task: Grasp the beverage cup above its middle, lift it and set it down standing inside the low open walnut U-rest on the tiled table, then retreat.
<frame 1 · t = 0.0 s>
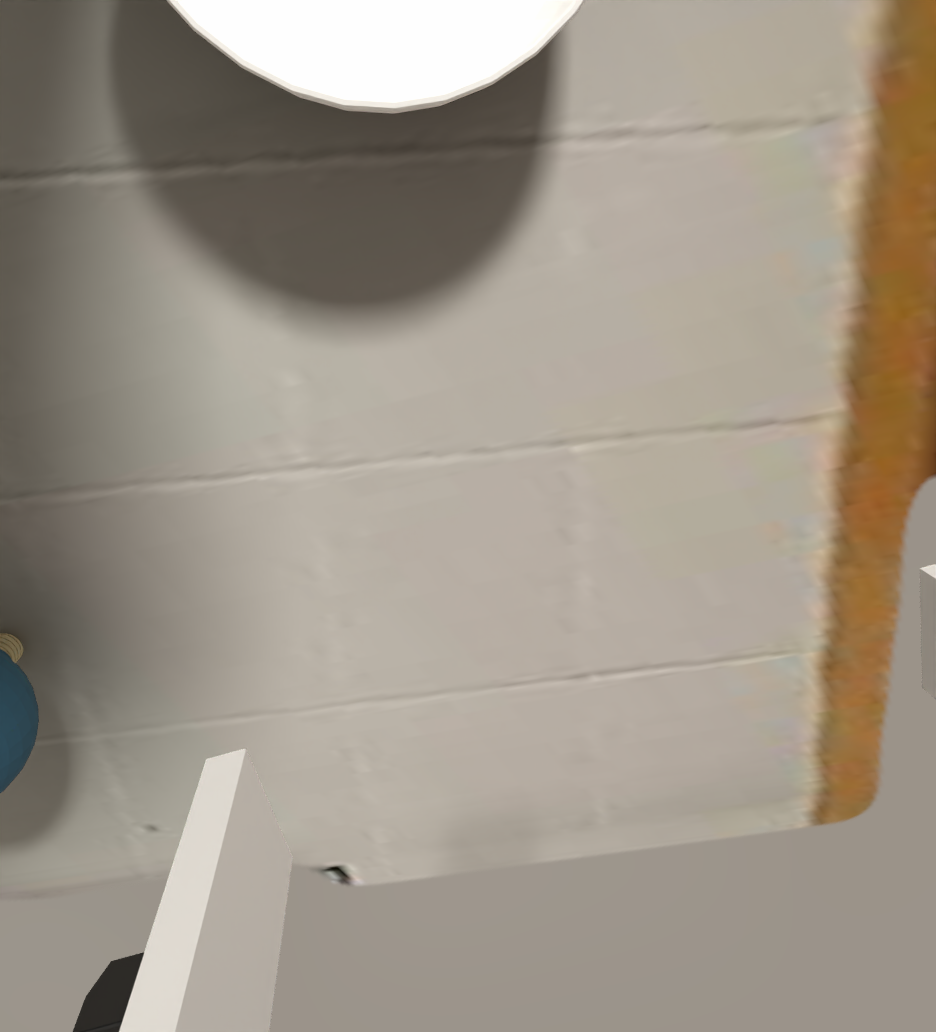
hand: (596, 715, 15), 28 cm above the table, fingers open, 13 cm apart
light bulb: (11, 641, 43), on the table
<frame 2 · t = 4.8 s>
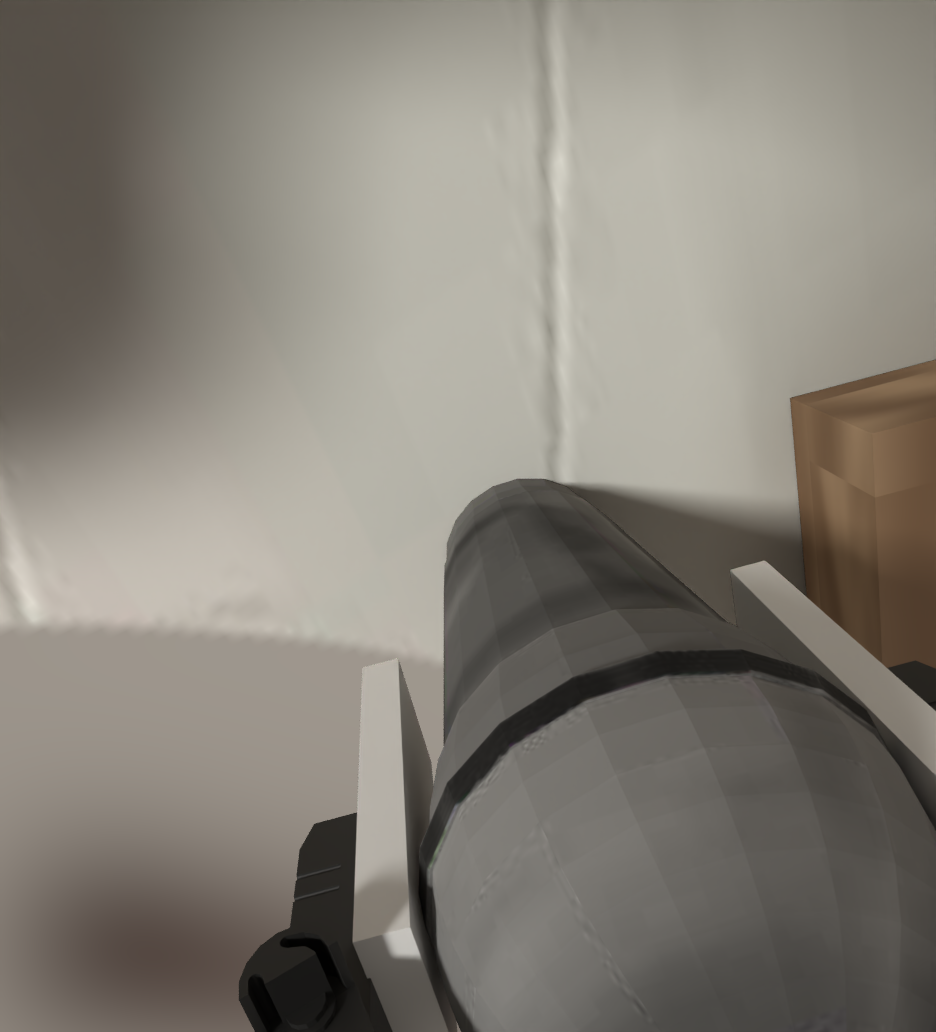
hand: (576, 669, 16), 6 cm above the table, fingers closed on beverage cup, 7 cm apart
beverage cup: (524, 551, 22), on the table, touching gripper
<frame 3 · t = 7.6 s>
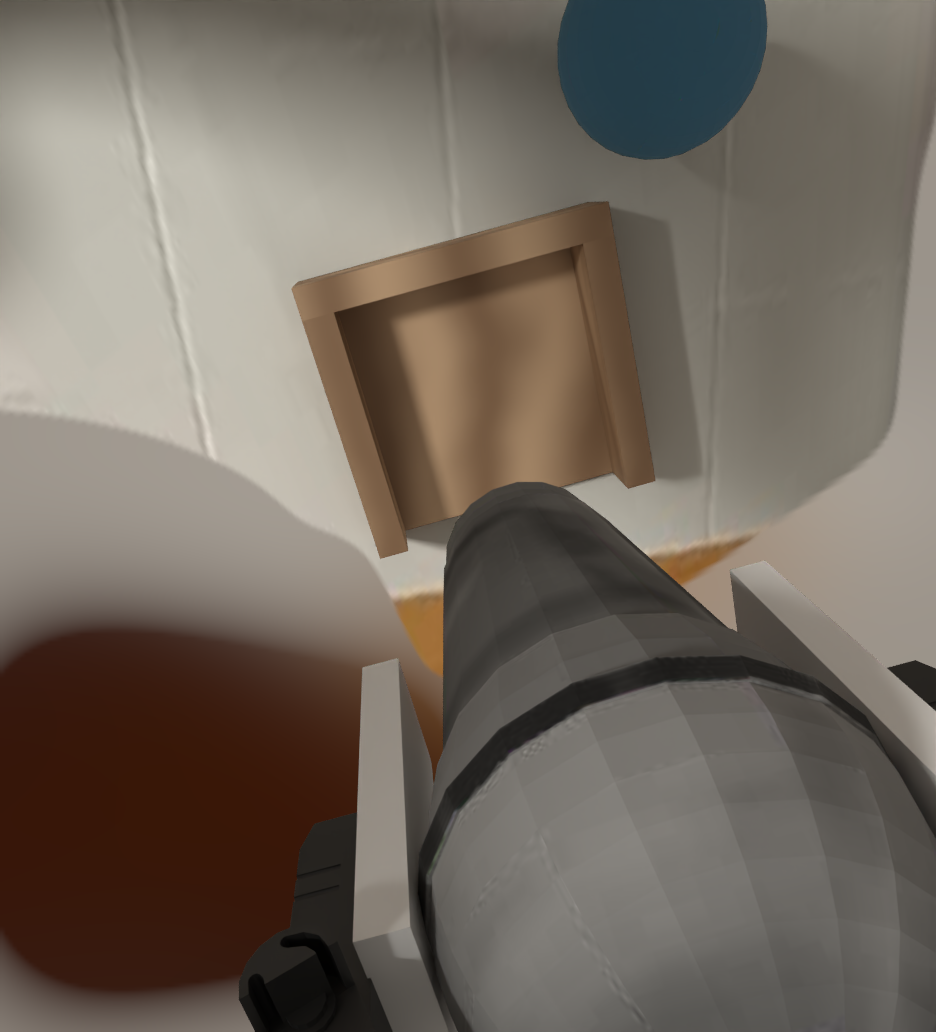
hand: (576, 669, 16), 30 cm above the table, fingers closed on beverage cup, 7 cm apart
beverage cup: (523, 554, 22), point 24 cm above the table, touching gripper
u rest: (477, 377, 44), on the table
light bulb: (604, 79, 40), on the table
when the fingers open (7 cm above the table, at t = 10.7 s): beverage cup stays where it is, resting on u rest.
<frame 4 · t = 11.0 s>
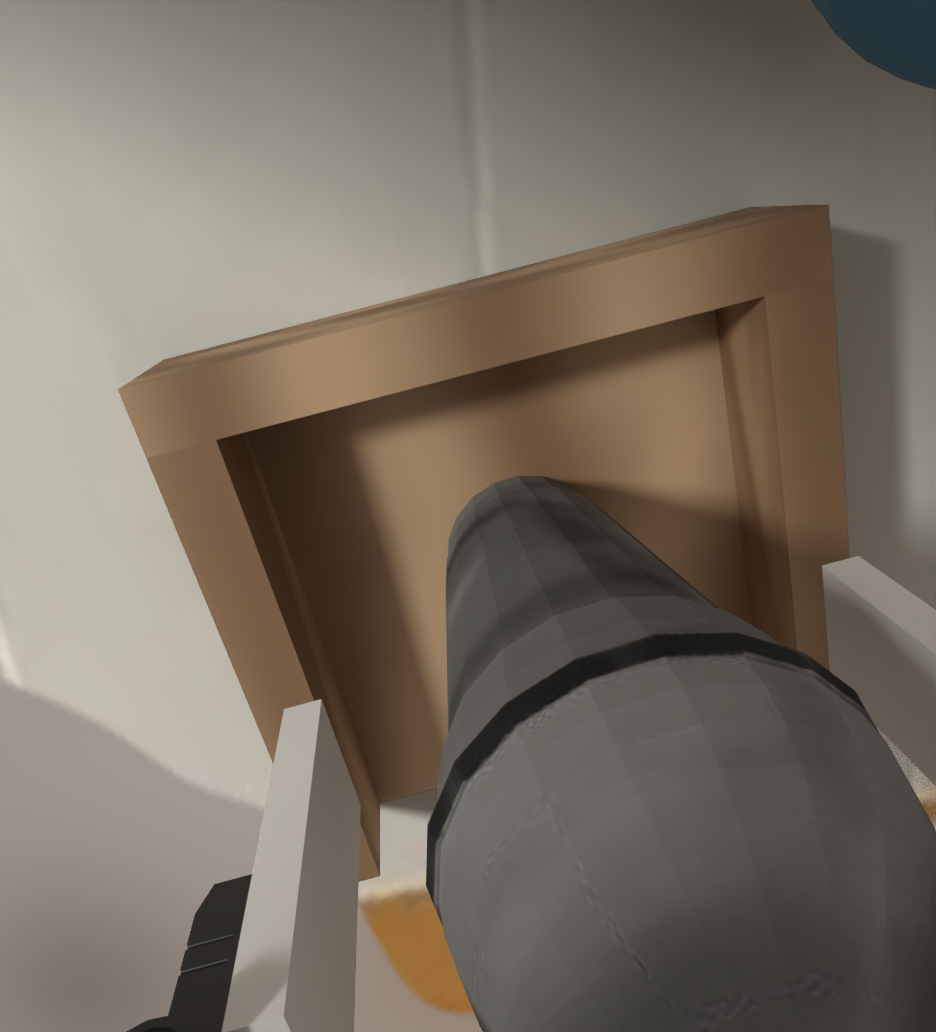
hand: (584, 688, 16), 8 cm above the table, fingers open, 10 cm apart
beverage cup: (523, 547, 23), point 1 cm above the table, touching u rest
u rest: (518, 536, 23), on the table
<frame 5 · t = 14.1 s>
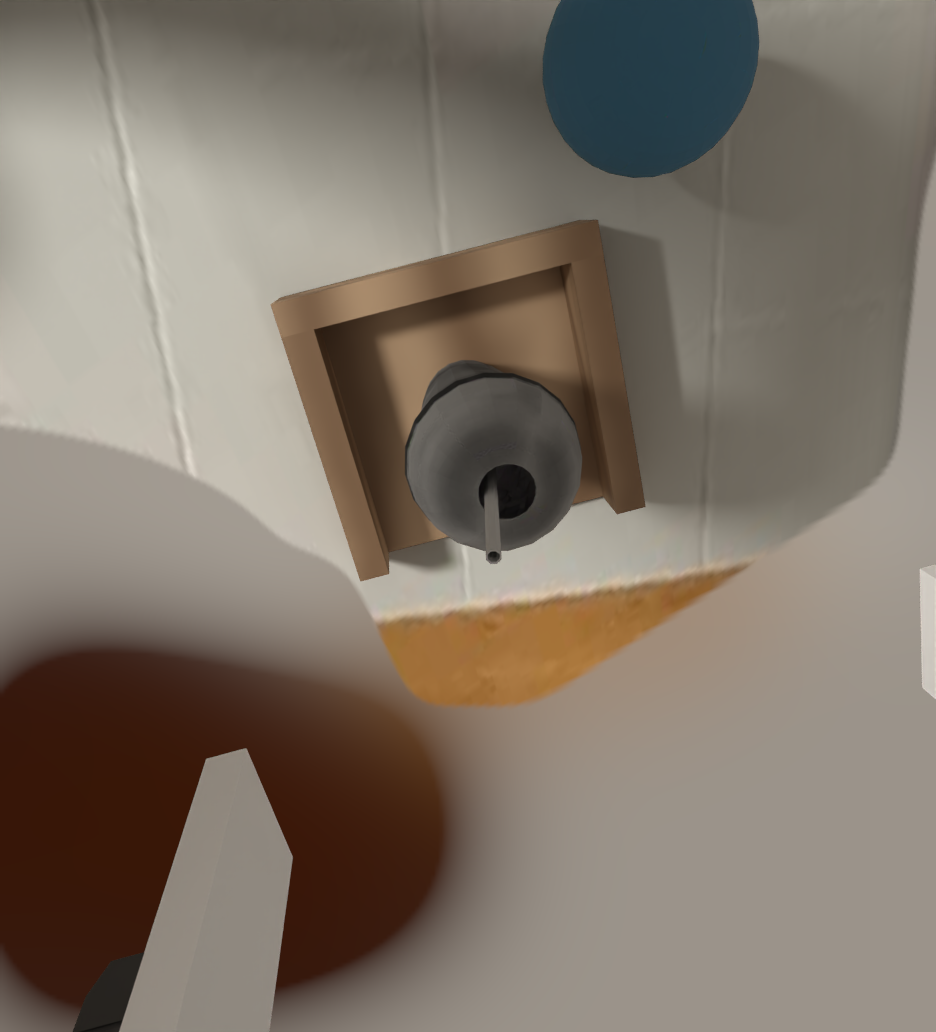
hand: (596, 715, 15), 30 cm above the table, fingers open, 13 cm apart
beverage cup: (466, 400, 43), point 1 cm above the table, touching u rest
u rest: (464, 397, 43), on the table
light bulb: (597, 94, 39), on the table
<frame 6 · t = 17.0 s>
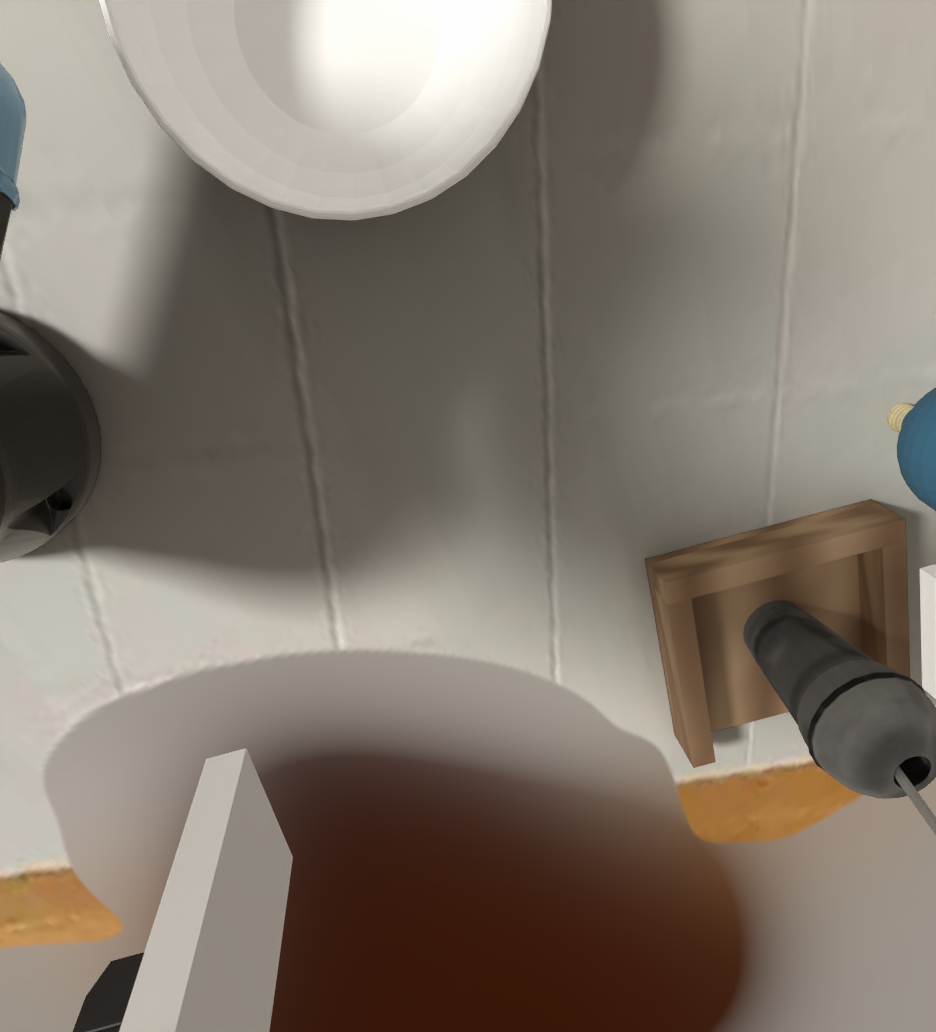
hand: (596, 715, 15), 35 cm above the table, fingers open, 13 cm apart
beverage cup: (772, 627, 55), point 1 cm above the table, touching u rest
u rest: (767, 622, 56), on the table
light bulb: (894, 414, 51), on the table
bowl: (339, 25, 40), on the table
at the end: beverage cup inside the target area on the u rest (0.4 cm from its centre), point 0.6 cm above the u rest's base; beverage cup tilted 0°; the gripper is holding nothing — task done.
